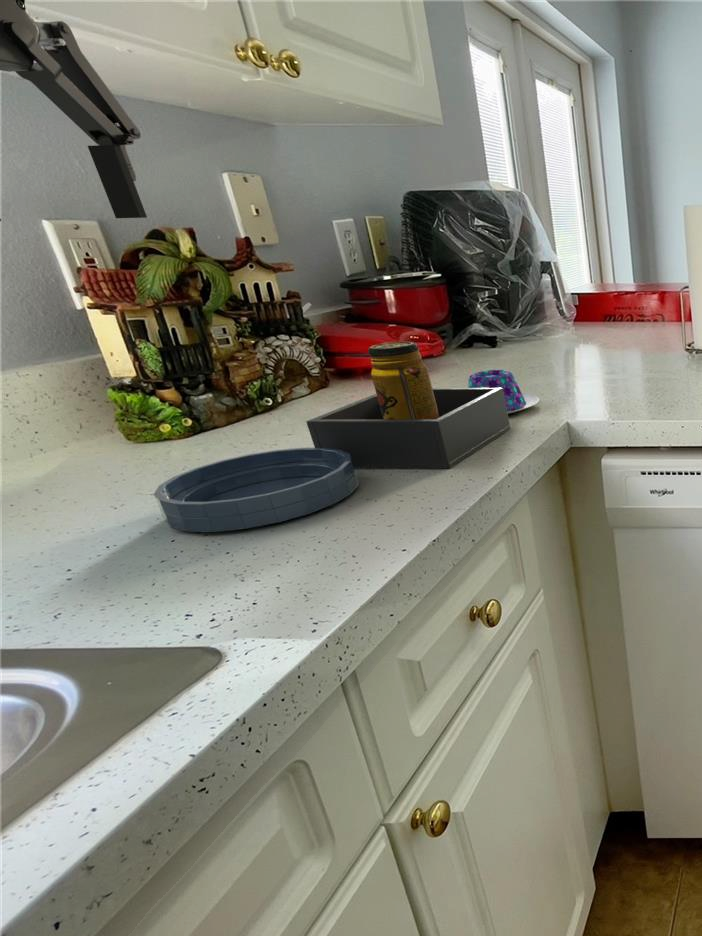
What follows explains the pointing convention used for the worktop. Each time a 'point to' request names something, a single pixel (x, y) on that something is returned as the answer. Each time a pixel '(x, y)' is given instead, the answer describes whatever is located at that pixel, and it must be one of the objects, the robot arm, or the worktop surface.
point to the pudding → (510, 388)
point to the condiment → (402, 382)
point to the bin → (415, 430)
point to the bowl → (256, 489)
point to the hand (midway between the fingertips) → (64, 220)
